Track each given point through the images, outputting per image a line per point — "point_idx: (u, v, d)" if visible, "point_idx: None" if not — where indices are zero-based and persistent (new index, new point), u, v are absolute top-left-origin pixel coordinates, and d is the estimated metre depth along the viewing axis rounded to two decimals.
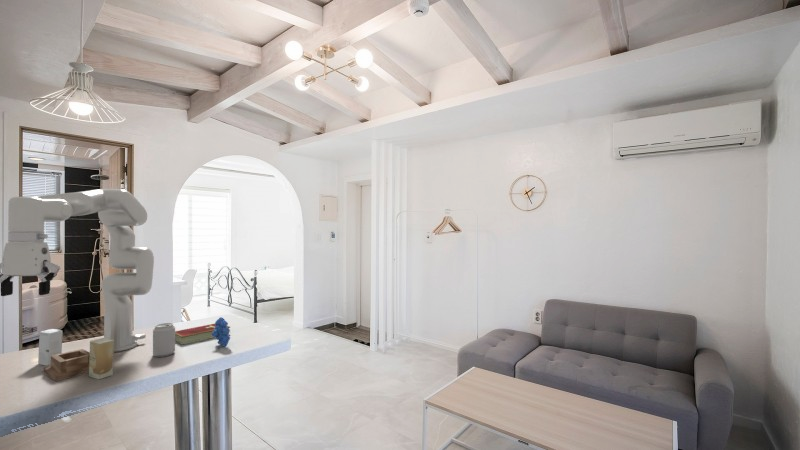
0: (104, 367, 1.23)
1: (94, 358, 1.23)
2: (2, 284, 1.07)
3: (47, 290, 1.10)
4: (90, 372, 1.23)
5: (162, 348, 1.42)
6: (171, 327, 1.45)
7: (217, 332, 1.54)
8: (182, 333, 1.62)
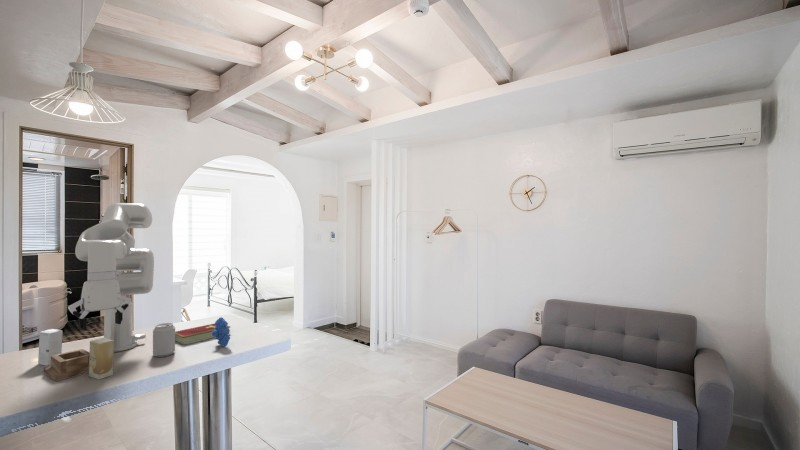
0: (104, 367, 1.23)
1: (94, 358, 1.23)
2: (85, 319, 1.19)
3: None
4: (90, 372, 1.23)
5: (162, 348, 1.42)
6: (171, 327, 1.45)
7: (217, 332, 1.54)
8: (183, 333, 1.62)
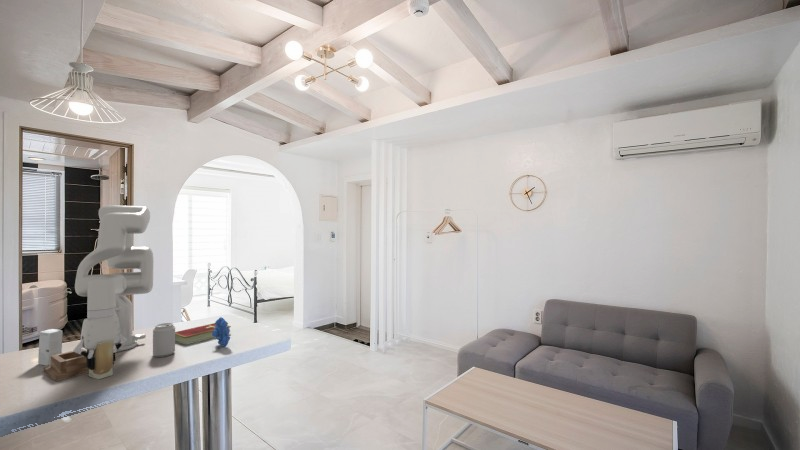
0: (104, 367, 1.23)
1: None
2: (93, 359, 1.21)
3: None
4: (90, 372, 1.23)
5: (162, 348, 1.42)
6: (171, 327, 1.45)
7: (217, 332, 1.54)
8: (184, 333, 1.62)
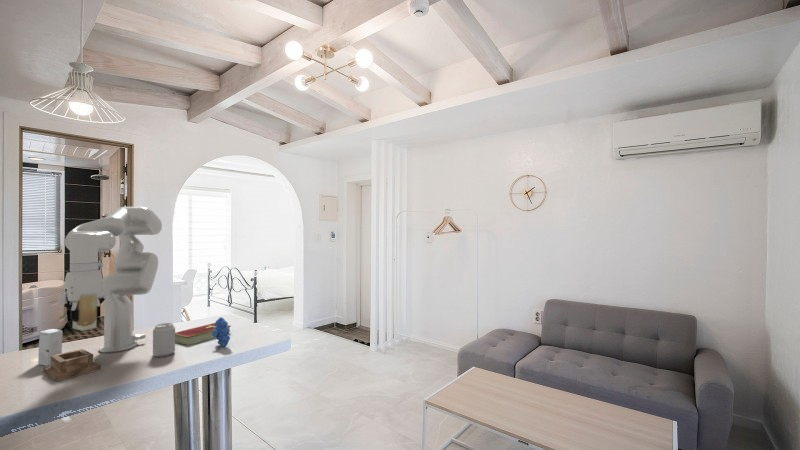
0: (87, 319, 1.26)
1: None
2: (76, 311, 1.25)
3: None
4: (73, 324, 1.27)
5: (162, 348, 1.42)
6: (171, 327, 1.45)
7: (217, 332, 1.54)
8: (185, 334, 1.61)
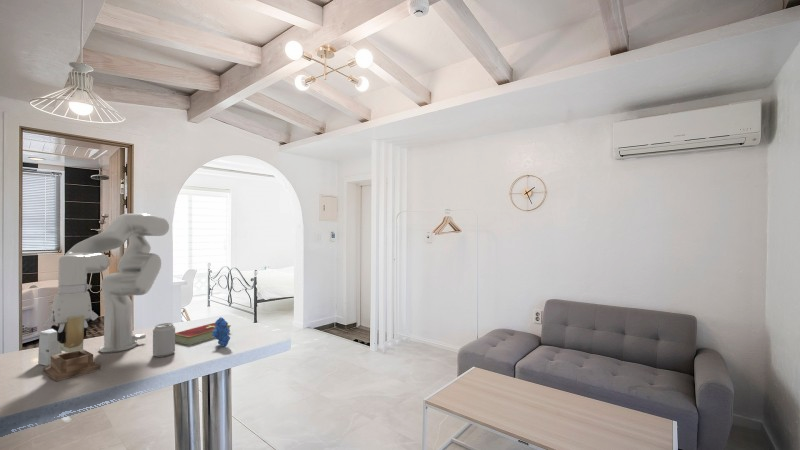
0: (74, 341, 1.27)
1: None
2: (63, 333, 1.26)
3: None
4: (61, 345, 1.28)
5: (162, 348, 1.42)
6: (171, 327, 1.45)
7: (217, 332, 1.54)
8: (186, 334, 1.61)
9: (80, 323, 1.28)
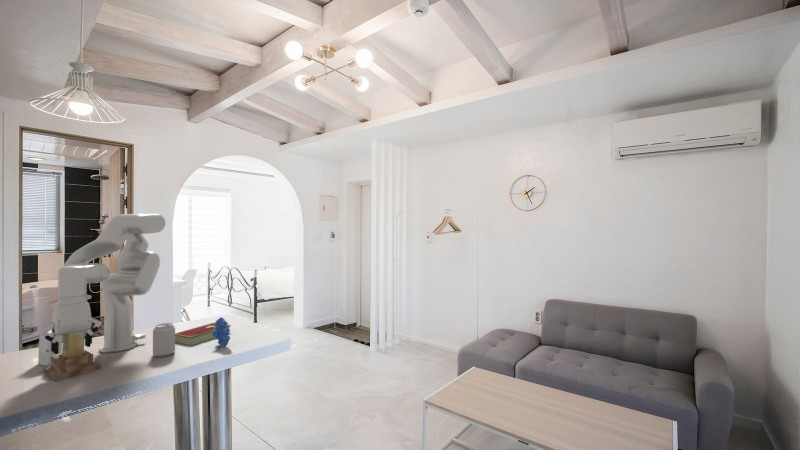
0: (73, 357, 1.27)
1: (65, 348, 1.27)
2: (57, 343, 1.24)
3: None
4: None
5: (162, 348, 1.42)
6: (171, 327, 1.45)
7: (217, 332, 1.54)
8: (187, 334, 1.61)
9: (80, 339, 1.29)
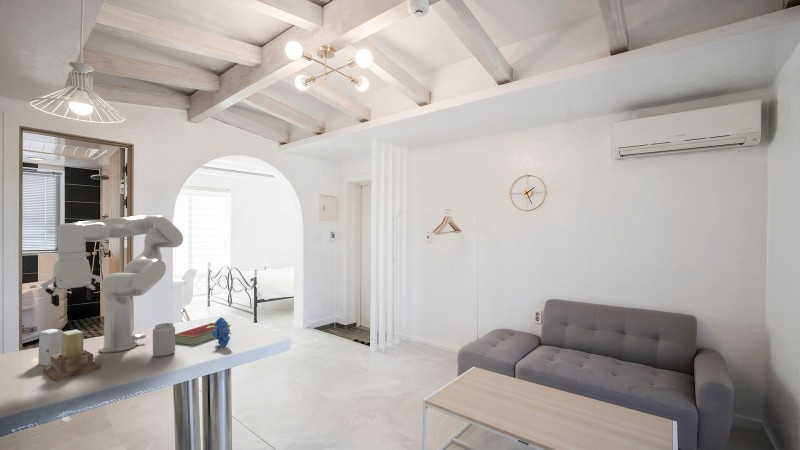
0: (73, 357, 1.27)
1: (64, 348, 1.27)
2: (57, 296, 1.29)
3: None
4: None
5: (162, 348, 1.42)
6: (171, 327, 1.45)
7: (217, 332, 1.54)
8: (189, 334, 1.61)
9: (79, 340, 1.28)
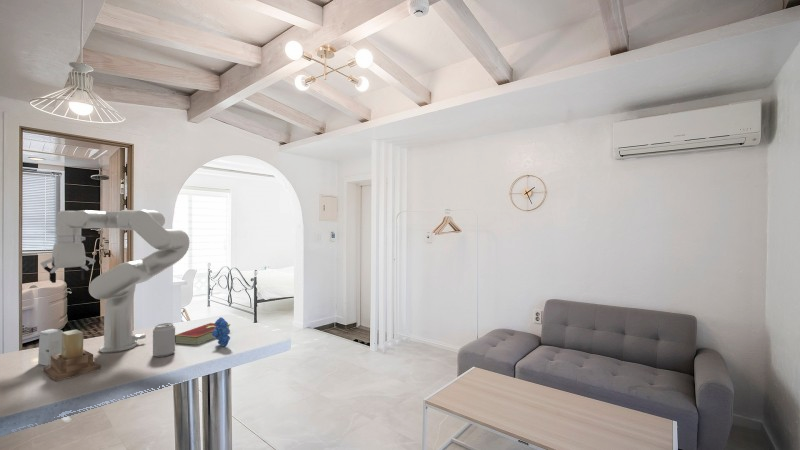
0: (73, 357, 1.27)
1: (64, 348, 1.27)
2: (54, 274, 1.47)
3: None
4: None
5: (162, 348, 1.42)
6: (171, 327, 1.45)
7: (217, 332, 1.54)
8: (190, 334, 1.60)
9: (79, 340, 1.28)
